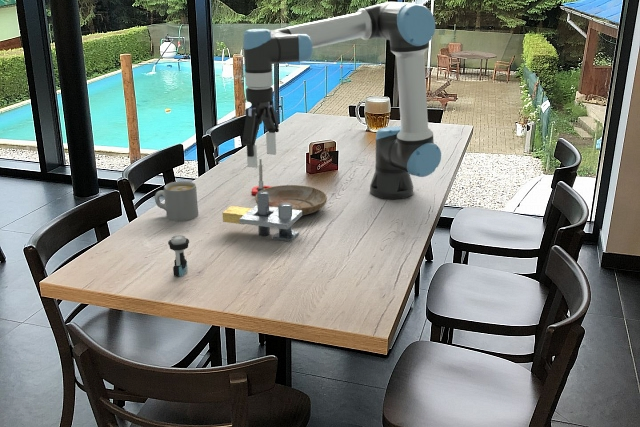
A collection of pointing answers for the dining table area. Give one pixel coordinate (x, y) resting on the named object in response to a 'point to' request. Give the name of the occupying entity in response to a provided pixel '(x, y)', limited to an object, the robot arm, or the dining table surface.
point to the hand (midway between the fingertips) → (262, 160)
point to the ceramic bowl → (296, 197)
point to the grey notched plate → (267, 219)
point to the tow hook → (260, 187)
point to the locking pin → (263, 210)
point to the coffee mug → (179, 200)
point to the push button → (179, 254)
